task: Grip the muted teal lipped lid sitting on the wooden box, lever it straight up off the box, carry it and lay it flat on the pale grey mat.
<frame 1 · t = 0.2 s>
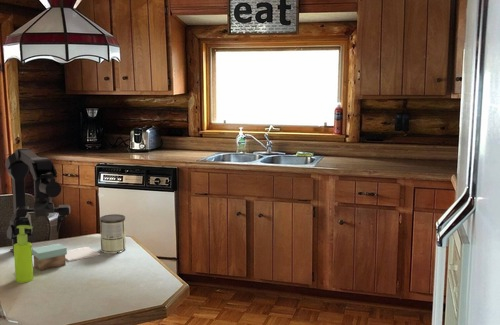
hand: (44, 233, 208), 14 cm above the table, tool pointing down, fingers open, 9 cm apart
soap dispenser: (25, 280, 199), on the table
coffee can: (113, 250, 233), on the table
lid: (49, 253, 212), point 5 cm above the table, touching wooden box
mat: (78, 254, 227), on the table
wooden box: (49, 265, 213), on the table
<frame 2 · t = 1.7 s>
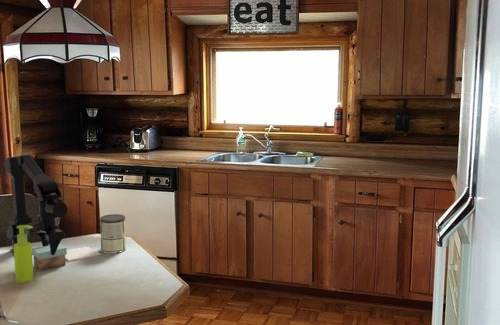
hand: (49, 252, 212), 5 cm above the table, tool pointing down, fingers closed on lid, 7 cm apart
lid: (49, 253, 212), point 5 cm above the table, touching wooden box, gripper
everything else where it was.
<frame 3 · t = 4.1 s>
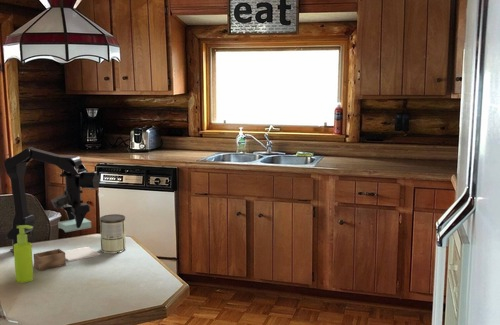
hand: (74, 225, 223), 13 cm above the table, tool pointing down, fingers closed on lid, 7 cm apart
lid: (74, 226, 223), point 12 cm above the table, touching gripper
everything else where it was.
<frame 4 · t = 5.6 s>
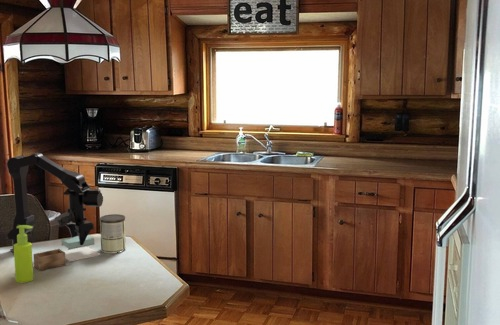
hand: (77, 242, 226), 5 cm above the table, tool pointing down, fingers closed on lid, 7 cm apart
lid: (78, 243, 226), point 5 cm above the table, touching gripper
everything else where it was.
when the fingers open (3 cm above the table, at t = 6.6 s): lid drops 1 cm, resting on mat.
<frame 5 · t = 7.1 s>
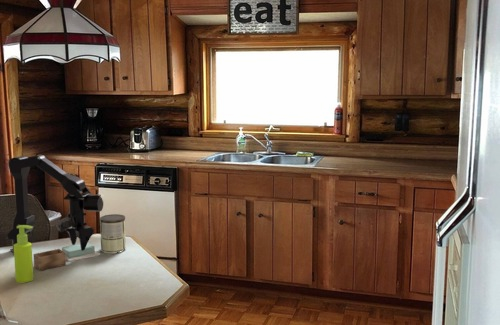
hand: (78, 247, 226), 3 cm above the table, tool pointing down, fingers open, 9 cm apart
lid: (78, 251, 227), point 1 cm above the table, touching mat
everything else where it was.
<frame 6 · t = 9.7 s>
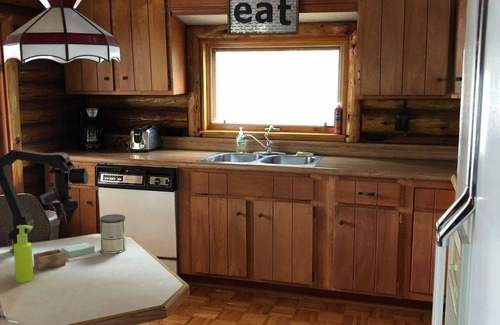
hand: (63, 221, 228), 13 cm above the table, tool pointing down, fingers open, 9 cm apart
nothing on the table moved.
at the end: lid inside the target area on the mat (0.1 cm from its centre), point 1.2 cm above the mat's base; lid tilted 0°; lid moved 15.7 cm from its start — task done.
